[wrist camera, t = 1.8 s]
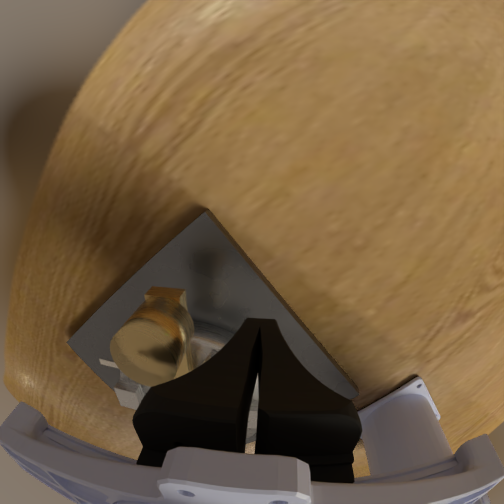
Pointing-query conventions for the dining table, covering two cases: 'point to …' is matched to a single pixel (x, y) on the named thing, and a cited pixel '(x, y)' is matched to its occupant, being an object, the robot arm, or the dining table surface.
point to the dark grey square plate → (206, 302)
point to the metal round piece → (165, 347)
